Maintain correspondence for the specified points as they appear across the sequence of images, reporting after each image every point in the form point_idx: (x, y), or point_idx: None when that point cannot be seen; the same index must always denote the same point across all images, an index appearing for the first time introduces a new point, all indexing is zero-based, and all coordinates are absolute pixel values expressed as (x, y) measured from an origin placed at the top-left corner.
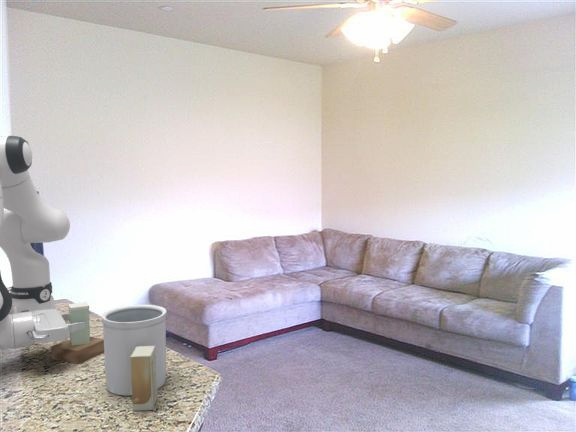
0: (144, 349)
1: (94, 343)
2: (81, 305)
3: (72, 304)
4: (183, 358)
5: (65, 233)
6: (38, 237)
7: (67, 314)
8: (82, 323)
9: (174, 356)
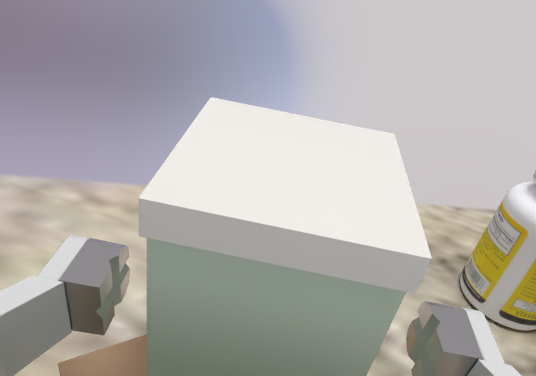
0: None
1: None
2: (341, 155)
3: (216, 180)
4: (495, 212)
5: None
6: None
7: (17, 313)
8: (481, 329)
9: (468, 217)
